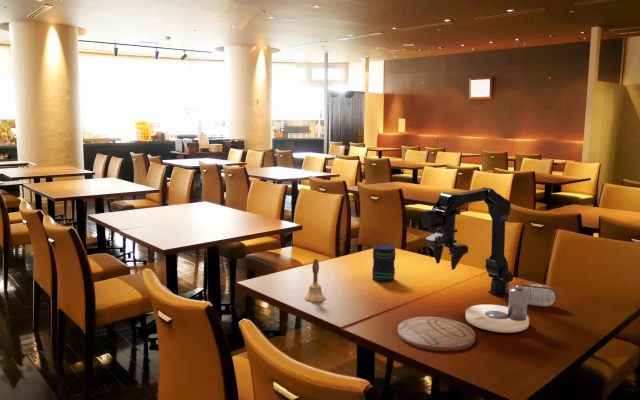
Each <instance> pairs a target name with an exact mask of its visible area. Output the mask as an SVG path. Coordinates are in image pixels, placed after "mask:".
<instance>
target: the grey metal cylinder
mask: <svg viewBox="0 0 640 400" xmlns="http://www.w3.org/2000/svg"><path fill="white" fill-rule="evenodd" d="M508 292H509V295H508V306H507V307H508V318H510V319H512V320H516V321H524V320H526V315H527V312H528V311H527V310H528V305H527V302H528V290H527V289H525V288H523V286H521V285H520V284H517V285H515V286H512V287H510V288H509V291H508Z"/></svg>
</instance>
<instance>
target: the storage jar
mask: <svg viewBox="0 0 640 400" xmlns="http://www.w3.org/2000/svg"><path fill="white" fill-rule="evenodd" d="M372 246H373V247H372V259H373V263H372V264H373V265H372V269H371V270H372V271H371V274H372V281H373V282H375V283H376V282H377V283H380V284H381V283H382V284H384V283H386V284H388V283H392V282H394V281H395V273H396V272H395V271H396V267H395V261H396V246H395V245H393V244H388V243H377V244H374V245H372Z"/></svg>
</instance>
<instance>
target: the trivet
mask: <svg viewBox="0 0 640 400" xmlns="http://www.w3.org/2000/svg"><path fill="white" fill-rule="evenodd" d="M396 331H397V336H398V338H399V339H400V340H401V341H402V342H404V343H406V344H407V343H408V344H407V345H409V346H412V347H415V348H417V349H420V348H421V350H425V351H429V352H430V351H432V352H438V351H452V352H458V351H457V350H460V351H463V350H466V348H467V349H469V348H470V347H472V346H473V345H474V344H475V342H476V332H475V331H474V330H473V329H472V328H471V327H470V326H469V325H468V324H465V323H462V322H460V321H457V320H453V319H450V318H446V317H438V316H418V317H416V316H415V317H411V318H407V319H405V320H402V321H401V322H400V323H399V324H398V326H397V330H396ZM473 343H474V344H473ZM468 347H469V348H468ZM462 349H463V350H462Z"/></svg>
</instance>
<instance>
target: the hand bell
mask: <svg viewBox="0 0 640 400" xmlns="http://www.w3.org/2000/svg"><path fill="white" fill-rule="evenodd" d="M311 268H312V273H313V274H312V275H313V280H312V283H311V284H310V285H309V288H308V292H307V294H306V295H305V296H304V300H305V301H307V302H312V303H316V302H318V303H319V302H323V301H326V296H325V295H324V294H323V292H322V286H321V284H319V283H318V282H319V281H318V274H319V270H320V264H319V260H318V258H314V259H313V261H312V267H311Z"/></svg>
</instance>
